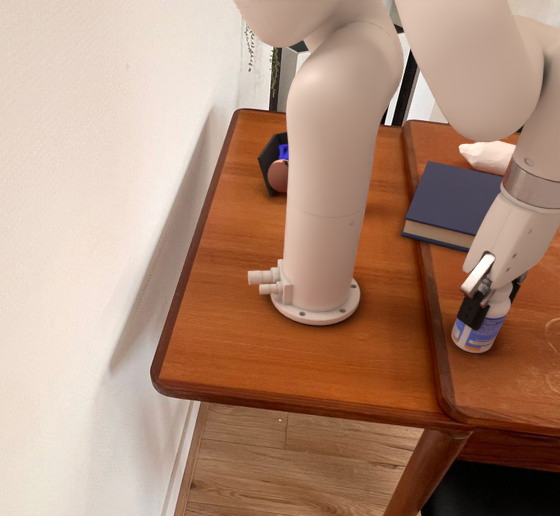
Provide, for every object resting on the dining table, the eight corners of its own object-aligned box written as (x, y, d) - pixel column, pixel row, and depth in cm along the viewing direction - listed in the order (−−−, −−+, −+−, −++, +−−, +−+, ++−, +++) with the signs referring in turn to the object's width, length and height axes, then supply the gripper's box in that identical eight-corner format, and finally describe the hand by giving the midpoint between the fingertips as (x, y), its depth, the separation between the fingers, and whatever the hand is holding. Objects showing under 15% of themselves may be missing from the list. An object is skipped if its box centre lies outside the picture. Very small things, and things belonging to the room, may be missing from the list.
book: (489, 258, 82) (497, 239, 80) (400, 235, 85) (405, 217, 83) (501, 195, 95) (508, 177, 92) (423, 178, 98) (428, 160, 95)
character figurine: (313, 167, 99) (289, 208, 90) (276, 156, 100) (249, 197, 90) (320, 126, 93) (295, 166, 83) (281, 115, 94) (252, 153, 84)
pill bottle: (499, 341, 70) (528, 284, 63) (476, 360, 68) (505, 303, 60) (464, 319, 73) (489, 262, 65) (442, 338, 70) (465, 280, 63)
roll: (456, 156, 104) (465, 127, 100) (518, 170, 101) (530, 142, 97) (450, 169, 100) (459, 140, 96) (515, 185, 97) (527, 156, 93)
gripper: (556, 143, 58) (497, 273, 72) (460, 190, 51) (415, 325, 65) (620, 171, 55) (545, 302, 69) (527, 226, 47) (464, 361, 61)
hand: (483, 312), depth 66 cm, fingers closed on pill bottle, 5 cm apart
